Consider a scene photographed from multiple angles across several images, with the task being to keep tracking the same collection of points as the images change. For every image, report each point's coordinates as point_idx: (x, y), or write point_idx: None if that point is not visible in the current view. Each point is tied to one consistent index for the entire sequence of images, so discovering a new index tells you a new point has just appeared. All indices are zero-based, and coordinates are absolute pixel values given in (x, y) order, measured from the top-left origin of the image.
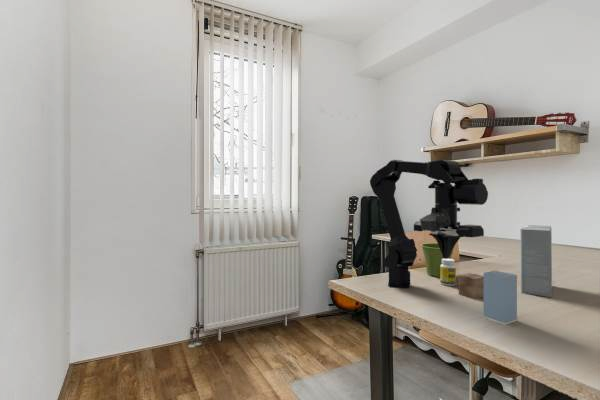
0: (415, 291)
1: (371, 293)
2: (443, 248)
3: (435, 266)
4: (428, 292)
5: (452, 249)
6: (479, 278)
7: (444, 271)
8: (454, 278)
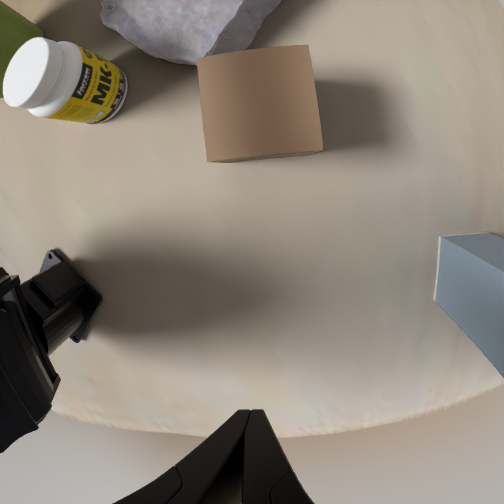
0: (138, 302)
1: (134, 416)
2: (240, 500)
3: (1, 81)
4: (162, 266)
5: (285, 458)
6: (316, 100)
7: (69, 114)
8: (112, 74)
